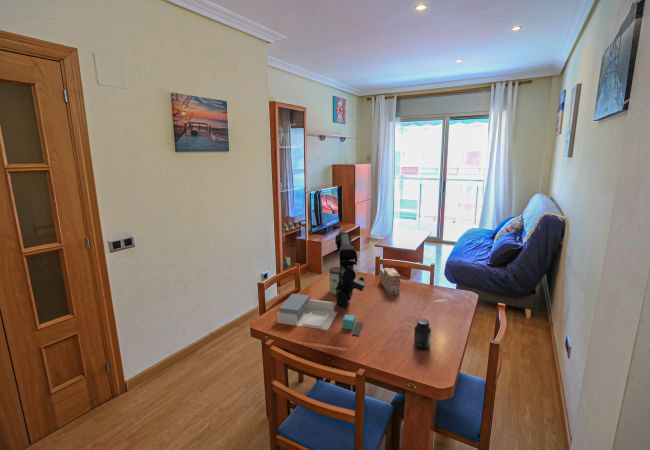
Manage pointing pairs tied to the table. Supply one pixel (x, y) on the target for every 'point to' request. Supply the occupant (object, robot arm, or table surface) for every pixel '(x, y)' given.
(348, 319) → the teal block
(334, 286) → the coffee can
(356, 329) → the rubber mat
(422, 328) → the supplement bottle
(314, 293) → the table surface
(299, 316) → the open white tray
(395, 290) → the stack of blocks
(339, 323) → the table surface
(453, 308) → the table surface
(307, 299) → the sliding cover
